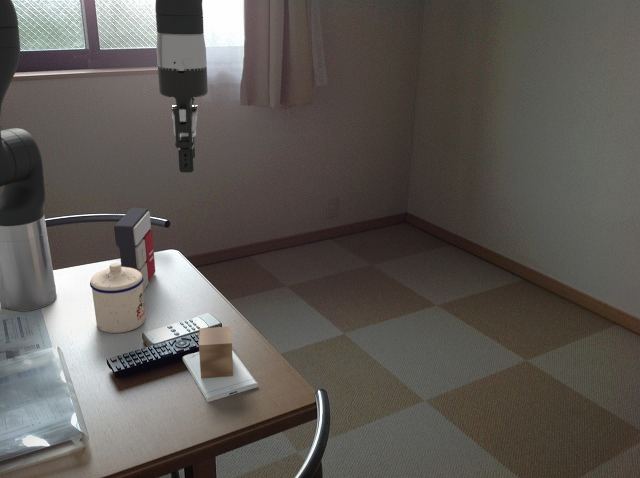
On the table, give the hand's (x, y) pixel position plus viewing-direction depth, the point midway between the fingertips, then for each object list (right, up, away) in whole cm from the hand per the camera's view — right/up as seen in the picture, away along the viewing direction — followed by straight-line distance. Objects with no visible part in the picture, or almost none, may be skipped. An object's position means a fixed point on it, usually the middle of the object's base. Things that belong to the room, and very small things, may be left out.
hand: (187, 164), depth 98 cm
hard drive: (+6, -35, -3) cm, 35 cm away
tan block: (+5, -33, -4) cm, 34 cm away
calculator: (-16, -22, +25) cm, 37 cm away
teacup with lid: (-15, -27, +12) cm, 34 cm away
